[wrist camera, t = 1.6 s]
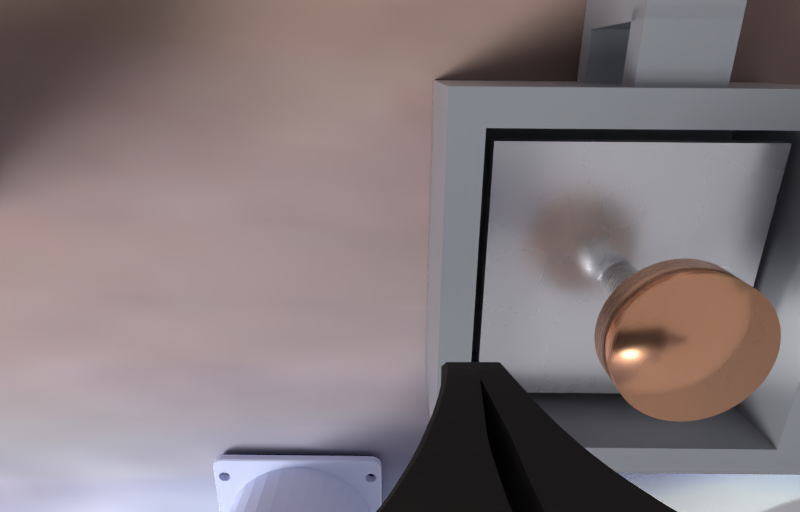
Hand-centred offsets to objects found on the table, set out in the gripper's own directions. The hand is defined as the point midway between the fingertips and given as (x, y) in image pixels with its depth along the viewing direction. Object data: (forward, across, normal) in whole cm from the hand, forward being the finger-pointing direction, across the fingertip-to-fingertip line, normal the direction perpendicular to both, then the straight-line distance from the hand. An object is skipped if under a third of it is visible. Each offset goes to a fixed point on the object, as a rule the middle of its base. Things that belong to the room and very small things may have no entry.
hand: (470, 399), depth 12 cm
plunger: (+6, -6, -1) cm, 8 cm away
